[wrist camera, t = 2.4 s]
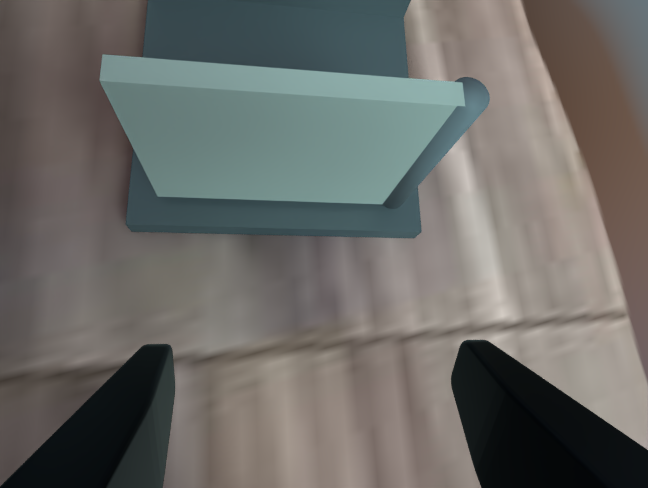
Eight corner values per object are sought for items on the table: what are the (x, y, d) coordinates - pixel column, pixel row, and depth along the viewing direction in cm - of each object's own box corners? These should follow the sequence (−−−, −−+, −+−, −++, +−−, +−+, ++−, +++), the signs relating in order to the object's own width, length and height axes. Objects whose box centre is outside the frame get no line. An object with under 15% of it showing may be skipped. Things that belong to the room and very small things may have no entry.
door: (404, 209, 21) (491, 114, 14) (157, 201, 19) (98, 87, 12) (402, 184, 21) (487, 78, 14) (159, 174, 20) (103, 47, 12)
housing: (414, 237, 22) (447, 209, 19) (131, 231, 20) (104, 197, 17) (396, 16, 26) (421, -47, 22) (154, -9, 24) (136, -81, 20)
